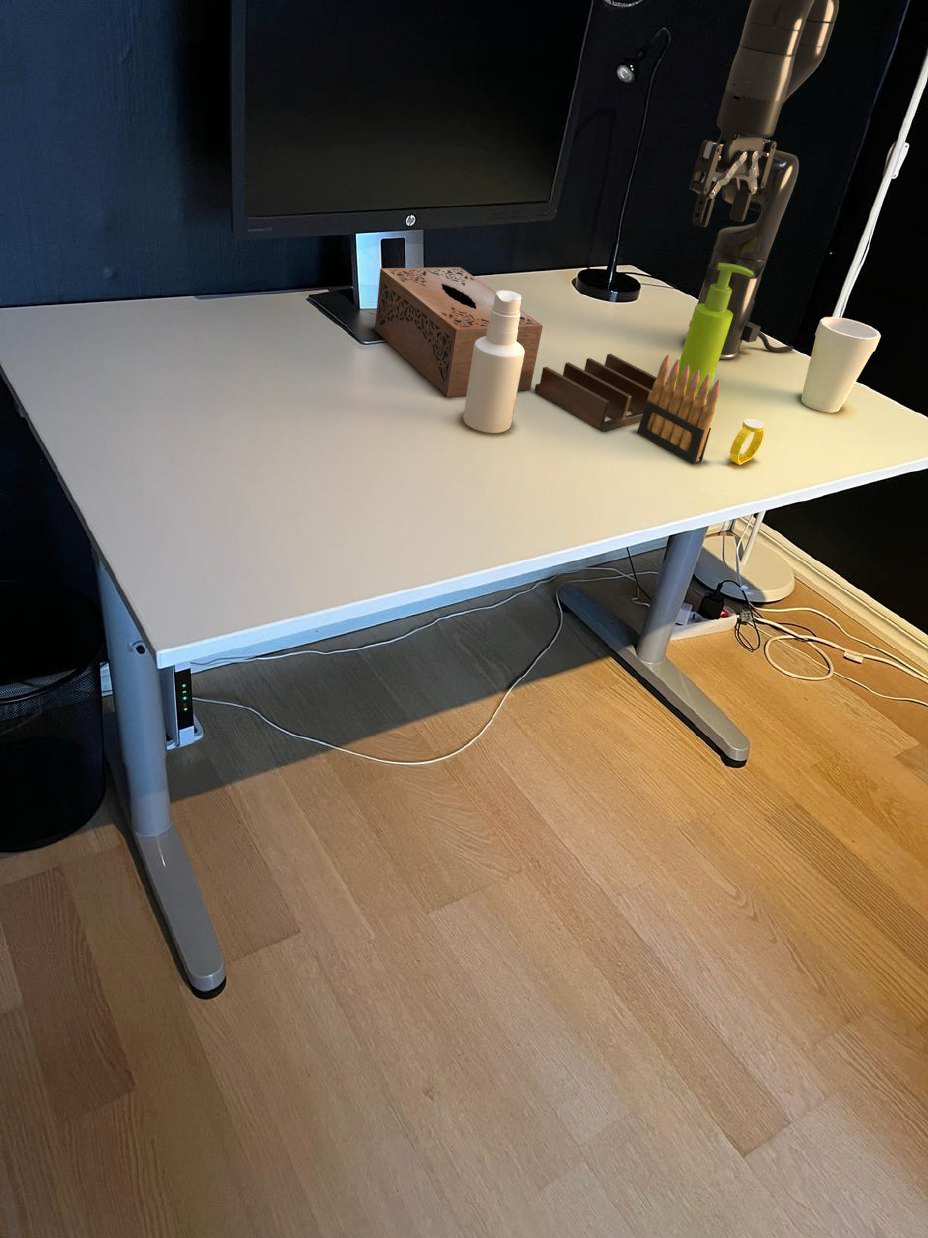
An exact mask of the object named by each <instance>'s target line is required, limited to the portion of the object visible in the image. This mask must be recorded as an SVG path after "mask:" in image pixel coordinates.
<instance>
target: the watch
mask: <svg viewBox="0 0 928 1238" xmlns="http://www.w3.org/2000/svg"><path fill="white" fill-rule="evenodd" d="M752 433H753V438H752V440H751V442H750V443H749V445H748V447H747V448H746V450H745V451H744V453H743V454H740V453H741V450H742V448H743V445H744V443H745V442H746V441H747V438H748V437H749V436H750V435H751V434H752ZM764 437H765V427H764V424H763V422H761V421H760V420H757V419H752V418H747V419H744V420H743V422H742V427H741V429H740V430H739V432H738V433H737V434H736V436H735V437H734V439H733V442H732V443H731V447H730V449H729V460H730V461H731V462H733V463H734V464H736V465H738V466H740V465H743V464H744V463H746V462H748V461H752V459H753V458H754V457H755V455H757V452H758V451H759V449H760V447H761V446H762V443H763V440H764Z"/></svg>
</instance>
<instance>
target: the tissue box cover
mask: <svg viewBox="0 0 928 1238" xmlns="http://www.w3.org/2000/svg"><path fill="white" fill-rule="evenodd" d="M377 290H378V291H377V302H376V313H375V314H376V315H375V325H374V331H375V332H376V333H377V335H379V336H380V337H381V338H383V339H384V340H385V341H386V342H387V343H388V345H390V346H391V347H392V348H393V349H394V350H395V351H396V352H398V354H400V355H401V356H402V357H403V358H404V359H405V360H406V361H407V362H408V363H410V364H411V365H412V366H413V367H414V368H415V369H416V370H418V372H419V373H420V374H421V375H422V376H424V377H425V378H426V379H427V380H428V381H429V382H430V383H431V384H432V385H433V386H435V388H437V390H439V391H440V392H441V393H442V394H443V395H444V396H445V397H446V398H451V397H462V396H466V395H467V388H468V382H469V375H470V369H471V362H472V356H473V349H474V344H475V342H476V340H478V339H479V338H481V337H484V336H486V334H487V328H488V324H489V319H490V313H491V309H492V308H493V305H494V300H495V293H496V292H497V291H495V290H493V289H492V288H491V287H489V286H488V285H486V284H485V283H483V282H482V281H480V280H479V279H478V278H476V277H475V276H473V275H472V274H471V273H469V272H468V271H467V270H465V269H463V268H462V267H461V266H453V267H452V266H447V267H441V266H439V267H388V268H387V267H385V268H383V267H382V268H379V279H378V289H377ZM543 327H544V325H543V324H541V323H540V322H539V321H537V320H536V319H534V318H533V317H531V316H530V315H529V314H528V313H526V312H525V311H523V310H521V309H520V319H519V325H518V334H517V339H516V341H517V342H518V343H519V344H520V345H522V347H523V348H524V350H525V353H524V359H523V364H522V369H521V375H520V380H519V385H518V390H517V392H520V391H530V390H531V387H532V383H533V377H534V374H535V373H534V372H535V368H536V362H537V358H538V353H539V348H540V342H541V337H542V332H543Z"/></svg>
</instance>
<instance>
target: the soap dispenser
mask: <svg viewBox="0 0 928 1238" xmlns="http://www.w3.org/2000/svg"><path fill="white" fill-rule="evenodd" d="M718 270H721V271H720V274H719V278H718V281H717V283H714V284H712V285H710V288H709V292H708V295H707V298H706V302H705V304H698V305H697V304H695V307H694V311H693V314H692V317H691V319H690V321H691V324H690V323H689V324H690V327H689V326H688V330H687V334H686V338H685V340H684V345H683V348H682V352H681V355H680V358H679V372H678V377H677V381H676V385H675V389H676V387H677V384H678V382H679V379H680V376H681V374H682V372H683V370H684V368H685V367H686V366H687V365H689V378H688V382H687V386H686V390H685V394H686V391H687V389H688V386H689V383H690V381H691V378H692V377H693V375H694V373H695V372H696V370H699V382H698V387H697V391H696V395H695V398H696V396H697V394H698V391H699V388H700V386H701V384H702V382H703V380H704V378H705V377H706V376H707V375H709V377H710V381H709V388H708V392H707V396H709V394H710V390H711V387H712V383H713V381H714V376H715V373H716V371H717V368H718V364H719V360H720V359H719V358H720V355H721V352H722V349H723V345H724V342H725V339H726V336H727V333H728V330H729V327H730V323H731V320H732V317H733V313H732V312H731V311H729V310H728V309H727V306H728V302H729V299H730V296H731V293H732V289H731V288H730V287H729V286H728V283H729V280H730V277H731V274H732V272H736V273H741V274H744V275H746V276H749V277H752V276H754V274H753V272H752V271H751V270H749V269H747V268H745V267H742V266H738V265H734V264H726V263H719V264H718Z"/></svg>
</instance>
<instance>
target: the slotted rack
mask: <svg viewBox="0 0 928 1238" xmlns="http://www.w3.org/2000/svg"><path fill="white" fill-rule="evenodd" d="M656 378H657V376H655V375H653V374H651V373H649V372H647V371H646V370H643V369H642V368H640V367H638V366H635V365H634V364H632V363H629V362H627V361H626V360H624V359H622V358H620V357H618V356H616V355H614V354H612V353H607V354H606V358H605V362H604V364H603V363H601V362H599V361H597V360H594V359H593V358H592V357H588V358H586V361H585V364H584V369H583V368H580V367H578V365H577V366H576V365H575V364H573V363H572V362H565V363H564V367H563V371H562V374H560V373H559V372H557V371H556V370H554V369H552V368H551V367H548V366H543V367H542V370H541V376H540V381H539V383H536V384H535V386H534V390H533V391H534V393H536V394H538V395H539V396H541V397H543V398H544V399H546V400H548V401H550V402H551V403H553V404H555V405H557V406H558V407H560V408H562V409H563V410H565V411H567V412H568V413H571V414H572V415H574V416H576V417H577V418H579V419H581V420H582V421H584V422H586V423H588V424H589V425H591V426H592V427H595V428H596V429H598V430H600V431H601V432H607V431H611V430H614V429H618V428H621V427H626V426H630V425H632V424H637V423H640V421H641V418H642V415H643V412H644V409H645V406H646V403H647V401H648V400H649V399H650V395H651V392H652V388H653V385H654V382H655V380H656ZM665 385H666V383H665ZM628 411H629V412H631V414H628ZM606 417H609V418H611V419H608V420H606Z"/></svg>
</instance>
